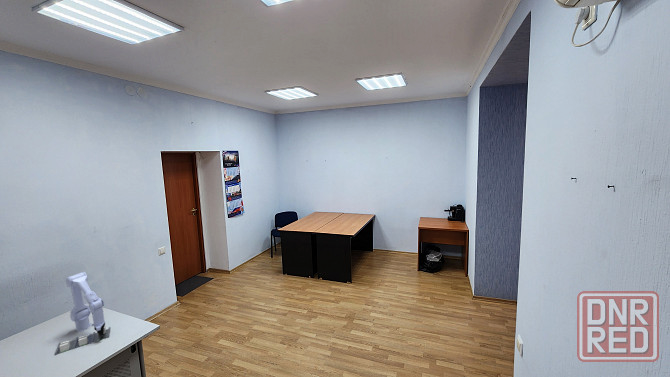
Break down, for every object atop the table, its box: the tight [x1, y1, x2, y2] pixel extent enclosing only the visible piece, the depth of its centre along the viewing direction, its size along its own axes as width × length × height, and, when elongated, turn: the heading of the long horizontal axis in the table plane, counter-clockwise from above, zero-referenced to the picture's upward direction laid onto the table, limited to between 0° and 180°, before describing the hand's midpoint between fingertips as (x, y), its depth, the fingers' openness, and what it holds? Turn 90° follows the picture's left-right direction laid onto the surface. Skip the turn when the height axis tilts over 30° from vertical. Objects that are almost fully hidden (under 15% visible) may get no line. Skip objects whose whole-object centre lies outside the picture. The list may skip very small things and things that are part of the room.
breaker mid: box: [78, 334, 88, 347], centre depth 182 cm, size 4×4×4 cm
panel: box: [54, 326, 111, 356], centre depth 185 cm, size 12×27×2 cm, turn 126°
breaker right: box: [59, 340, 70, 352], centre depth 177 cm, size 4×4×4 cm
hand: (101, 334), depth 189 cm, fingers closed
